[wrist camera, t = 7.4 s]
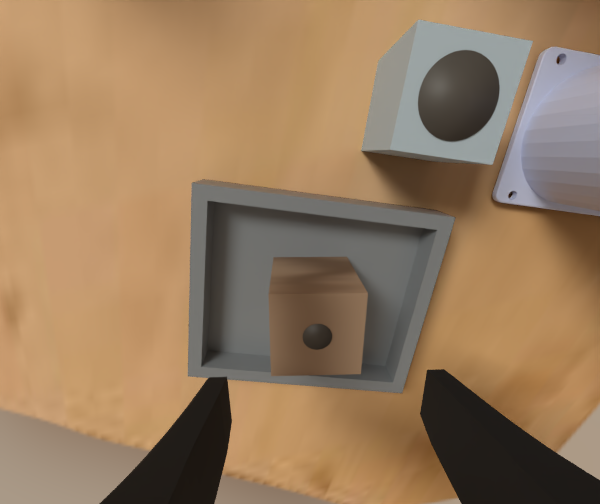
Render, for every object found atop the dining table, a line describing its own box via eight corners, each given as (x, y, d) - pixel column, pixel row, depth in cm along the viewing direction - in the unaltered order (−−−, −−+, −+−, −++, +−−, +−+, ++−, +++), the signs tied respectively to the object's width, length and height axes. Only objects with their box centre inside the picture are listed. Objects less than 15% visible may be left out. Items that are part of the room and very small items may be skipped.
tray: (435, 210, 18) (455, 217, 16) (390, 370, 22) (401, 393, 20) (203, 179, 17) (191, 182, 15) (198, 353, 21) (187, 376, 18)
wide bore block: (459, 75, 16) (534, 40, 11) (435, 161, 17) (493, 164, 12) (378, 61, 15) (418, 19, 11) (360, 150, 17) (390, 149, 12)
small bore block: (346, 256, 18) (368, 293, 13) (342, 320, 19) (361, 374, 15) (273, 257, 18) (268, 295, 13) (274, 321, 19) (270, 377, 14)
